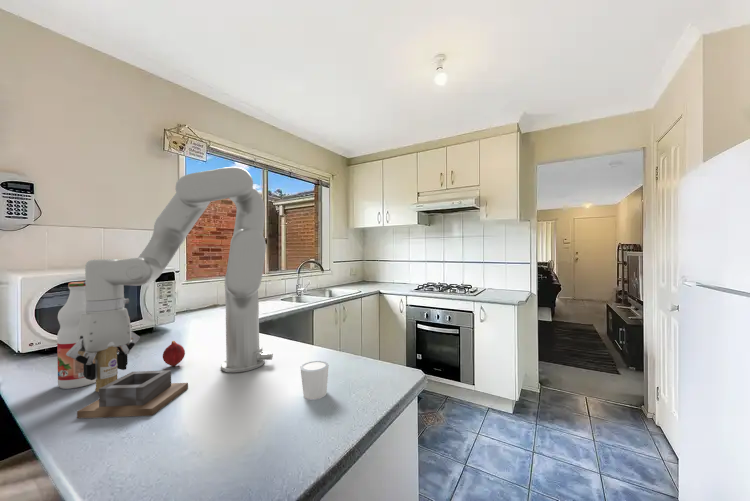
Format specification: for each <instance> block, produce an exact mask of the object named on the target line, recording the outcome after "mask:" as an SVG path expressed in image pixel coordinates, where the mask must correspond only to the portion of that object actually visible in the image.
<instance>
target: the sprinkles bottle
mask: <svg viewBox="0 0 750 501" xmlns="http://www.w3.org/2000/svg"><path fill="white" fill-rule="evenodd" d="M113 345H114V343H113V342H110V343H109V344H108V346H111V347H108V349H105V350H103V351H99V352H97V353H96V356H95V366H96V378H95V379H96V382H95V390H94V391H95V392H97V393H99V388H101V387H103V386H105V385H107V384H109V383H111V382H113V381H115V380H117V379H118V374H119V373H118V370H119V369H118V367H117V354H118V351H117V347H113Z"/></svg>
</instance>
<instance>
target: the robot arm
mask: <svg viewBox="0 0 750 501" xmlns="http://www.w3.org/2000/svg"><path fill="white" fill-rule="evenodd" d="M225 199H229V200H230V201H232V202H233V203H234V205H235V208H236V214H235V222H234V228H233V232H232V237H231V239H230V245H229V246H230V247H229V253H228V259H227V267H226V274H225V276H224V297H225V299H224V300H225V302H224V303H225V352H226V356H225V358H226V360H225V361H223V362H222V363H221V365H220V369H221V370H222V371H223V372H225V373H244V372H248V371H252V370H255V369H257V368H260V367H261V366H263V365H264V364H265V362H266V361H269V360H273V355H274V354H273V353H272V351H264V350H263V346H262V347H261V346H260V316H259V315H260V310H259V309H260V305H259V302H260V301H259V289H260V286H261V284H262V279H263V274H264V273H263V272H264V265H265V259H266V258H265V257H266V253H267V252H266V248H267V244H266V239H265V236H264V228H265V217H266V207H265V202H264V198H262V195H261V194H260V192H259V191H258V190H257V189H256V187H254V181H253V177H252V175H251V174H250V172H248V170H247V169H245V168H243V167H239V166H229V167H227V166H226V167H222V168H220V167H219V168H216V169H215V168H214V169H209V170H202V171H198V172H193V173H188V174H185V175H183V176H181V177H180V178H179V179H178V180H177V182H176V184H175V194H174V195H173V196H172V198H171V199H170V200H169V202H168V203H167V204H166V206H165V207H164V209H163V210H162V211H161V213H159V215H158V217H157V218H156V219H155V222H154V224H153V232H152V236H151V237H150V240H149V241H148V243H147V244H146V246H145V248H144V249H143V250H142V252H141V253H140V255H139V256H138V257H132V258H126V259H118V258H117V259H116V258H114V259H113V258H111V259H110V258H106V259H105V258H103V259H101V258H100V259H99V258H98V259H91V260H88V261H86V263H85V268H84V269H85V270H84V271H85V272H84V273H85V274H84V275H85V276H84V277H85V278H84V279H85V281H84V282H85V283H86V313H83V314H81V318H80V322H79V327H78V335H77V343H76V344H75V345H74V346H73V347H72V348H71V349H70V350H69V351H68V352H67V353H66V355H67V356H69V357H71V358H73V359H74V360H76V361H78V362H80V363H82V364H83V368H84V377H85V378H86V379H89V380H94V379H95V378H96V366H95V364H93V360H94V358H95V356H96V353H97V352H99V351H103V350H105V349H108V347H111V346H108V344H109V343H110V342H113V343H114V345H113V347H117V350H118V351H117V367H118V370H122V371H125V370H127V366H128V362H129V361H128V355H129V354H130V352H131V351H132V348H134V346H135V345H136V344H137V343H138V341H139V340H140V339H141V336H140V335H138V334H136V333H135V332H133V331H132V326H131V320H130V319H131V318H129V317H130V316H129V311H128V308H126V307H125V306H126V304H129V303H130V299H129V298H125V293H124V292H125V287H124V286H134V287H135V286H144V285H146V284H150V283H152V282H155V281H156V280H157V279H158V278H160V276H161V275H162V274H163V272H164V271H165V269H166V268H167V267H168V266H169V264H170V262H171V261H172V259H173V258H174V257H175V255H176V253H177V252H178V250H179V249H180V246H182V244H183V243H184V241H185V240H186V238H187V236H188V235H189V234H190V232H191V231H192V229H193V228H194V226H195V224H196V223H197V222H198V221H199V219H200V217H201V216H203V214H204V212H205V210H206V209H207V208H208V206H209V205H210V203H211V202H215V201H219V200H220V201H221V200H225ZM78 351H81V352H83V351H85V353H84V355H83V356H81V355H79V354H78Z"/></svg>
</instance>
